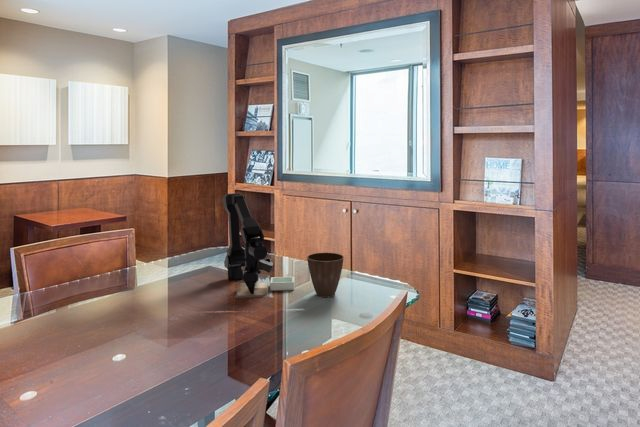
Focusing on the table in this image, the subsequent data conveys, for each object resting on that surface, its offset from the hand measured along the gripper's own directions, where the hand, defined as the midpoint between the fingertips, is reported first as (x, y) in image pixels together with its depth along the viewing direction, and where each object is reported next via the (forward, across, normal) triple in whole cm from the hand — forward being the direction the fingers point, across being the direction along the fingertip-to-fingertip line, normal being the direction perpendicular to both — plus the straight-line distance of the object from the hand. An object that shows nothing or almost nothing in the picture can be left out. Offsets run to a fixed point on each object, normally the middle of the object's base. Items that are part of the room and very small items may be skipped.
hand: (253, 291), depth 197 cm
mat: (+1, 0, 0) cm, 1 cm away
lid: (0, 0, 0) cm, 0 cm away
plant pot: (+1, -3, -30) cm, 30 cm away
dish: (+1, +6, -12) cm, 13 cm away
